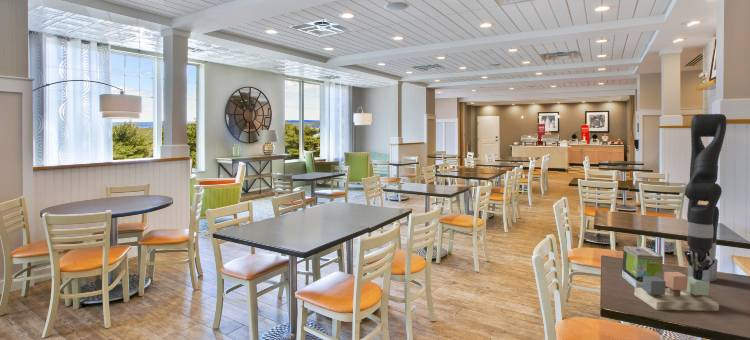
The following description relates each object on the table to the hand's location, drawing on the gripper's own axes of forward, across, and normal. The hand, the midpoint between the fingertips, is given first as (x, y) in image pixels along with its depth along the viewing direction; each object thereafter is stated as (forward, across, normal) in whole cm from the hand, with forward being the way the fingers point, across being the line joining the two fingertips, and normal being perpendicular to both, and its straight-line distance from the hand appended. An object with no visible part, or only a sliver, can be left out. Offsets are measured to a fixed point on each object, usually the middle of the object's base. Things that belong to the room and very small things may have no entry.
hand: (697, 279), depth 156 cm
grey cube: (+5, 0, +16) cm, 17 cm away
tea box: (+10, +20, +9) cm, 24 cm away
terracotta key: (+3, 0, +8) cm, 9 cm away
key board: (+9, 0, +8) cm, 12 cm away
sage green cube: (+5, 0, 0) cm, 5 cm away
